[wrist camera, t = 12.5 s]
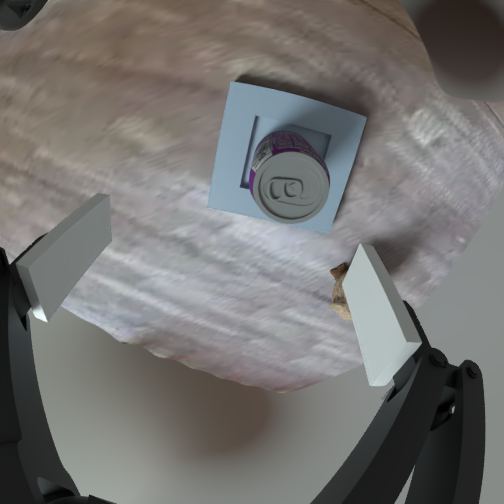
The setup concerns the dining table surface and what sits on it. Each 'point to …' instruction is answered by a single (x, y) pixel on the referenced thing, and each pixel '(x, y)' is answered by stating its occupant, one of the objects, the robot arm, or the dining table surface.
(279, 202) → the beverage can
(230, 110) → the baseplate
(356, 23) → the dining table surface
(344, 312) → the figurine
